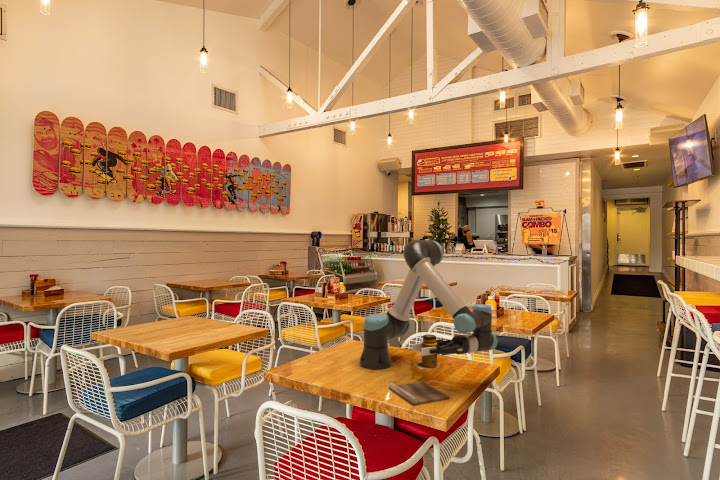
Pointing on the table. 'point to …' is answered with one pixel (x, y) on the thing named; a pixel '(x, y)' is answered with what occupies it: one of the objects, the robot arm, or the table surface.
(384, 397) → the table surface
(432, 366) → the condiment
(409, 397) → the dock board
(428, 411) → the table surface
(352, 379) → the table surface
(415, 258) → the robot arm
